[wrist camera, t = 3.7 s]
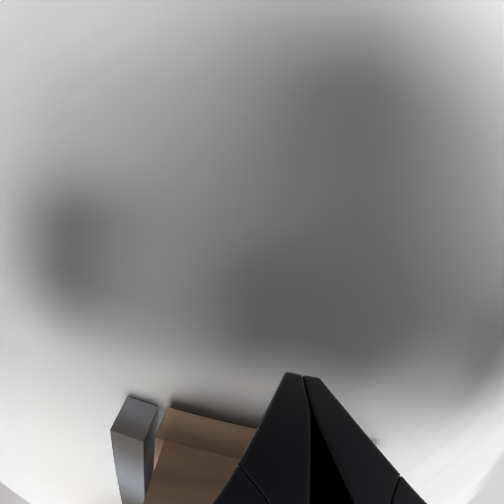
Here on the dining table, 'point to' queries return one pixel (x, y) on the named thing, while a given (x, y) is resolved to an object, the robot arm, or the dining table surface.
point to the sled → (194, 458)
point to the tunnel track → (134, 448)
